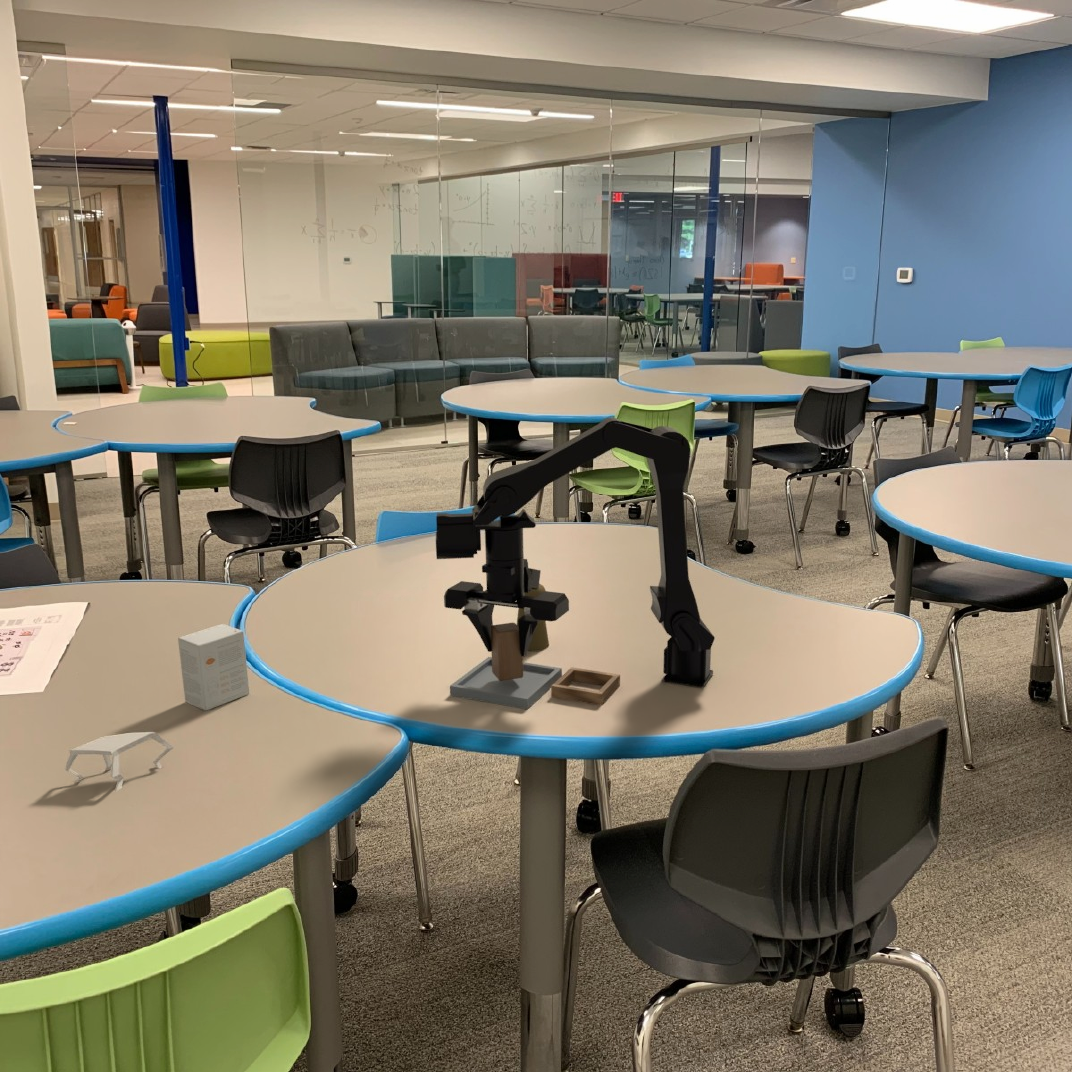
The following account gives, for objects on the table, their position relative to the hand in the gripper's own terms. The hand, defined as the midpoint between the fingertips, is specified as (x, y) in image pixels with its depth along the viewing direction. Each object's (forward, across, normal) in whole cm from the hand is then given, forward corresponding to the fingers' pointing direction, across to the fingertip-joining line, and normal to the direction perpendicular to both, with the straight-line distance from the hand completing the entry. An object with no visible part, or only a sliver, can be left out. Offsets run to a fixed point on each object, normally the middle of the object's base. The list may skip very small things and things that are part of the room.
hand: (507, 653), depth 156 cm
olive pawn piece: (+6, +4, -18) cm, 19 cm away
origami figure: (+6, +33, +45) cm, 56 cm away
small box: (+6, +39, +21) cm, 45 cm away
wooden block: (+4, 0, 0) cm, 4 cm away
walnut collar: (+6, -12, -3) cm, 13 cm away
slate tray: (+6, 0, 0) cm, 6 cm away
